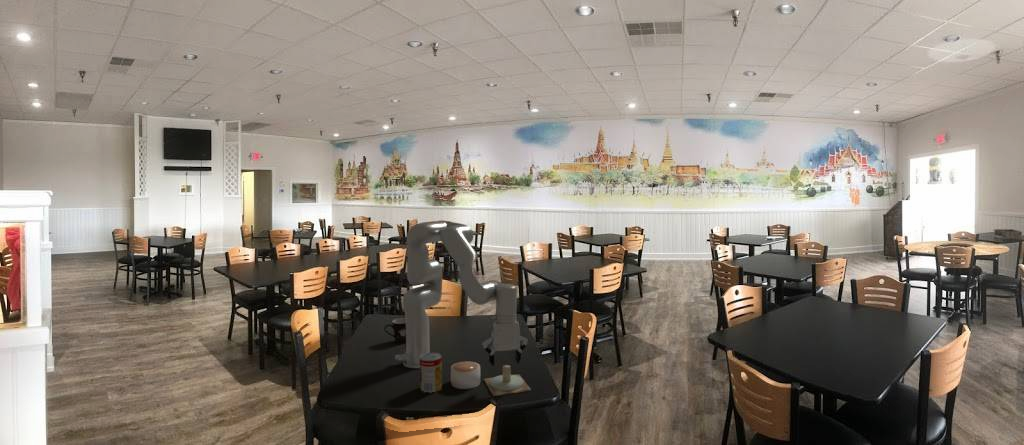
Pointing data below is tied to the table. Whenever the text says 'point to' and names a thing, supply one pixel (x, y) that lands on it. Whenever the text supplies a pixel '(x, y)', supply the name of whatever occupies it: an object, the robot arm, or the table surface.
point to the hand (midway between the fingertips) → (504, 363)
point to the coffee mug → (398, 330)
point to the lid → (506, 381)
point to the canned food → (431, 372)
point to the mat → (498, 392)
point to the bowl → (465, 375)
